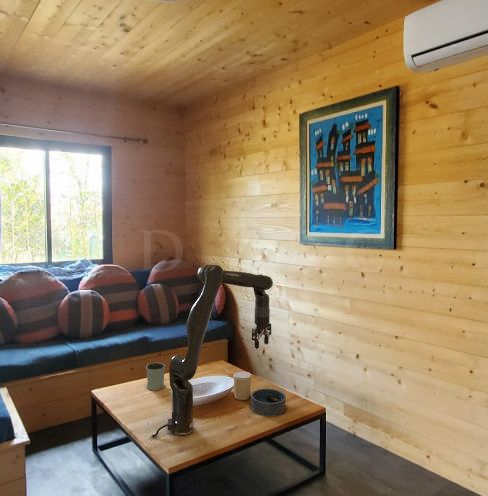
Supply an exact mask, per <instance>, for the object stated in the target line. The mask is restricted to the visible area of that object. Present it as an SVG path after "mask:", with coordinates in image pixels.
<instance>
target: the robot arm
mask: <svg viewBox="0 0 488 496" xmlns="http://www.w3.org/2000/svg"><path fill="white" fill-rule="evenodd" d="M197 278H198V280H199V281H200V282H201V284H204V285H203V289H202V292H201V294H200V295H199V297H198V299H197V300H196V301H195V302H194V304H193V305H192V307H191V309H190V311H189V314H188V317H187V320H186V324H185V328H186V334H187V335H186V336H187V350H186V354H185V355H183V354H175V355H174V356H172V358H171V359H170V362H169V366H168V374H169V375H168V376H169V377H168V378H169V386H170V390H171V418H167V423H165V424H164V425H162V426H160V427H158V429H157V430H156V432H155V433H154V434H151V437H152V438H155V437H157V436H158V435H159V432H160V431H161V430H162V429H164V428H167V431H171V435H176V436H186V435H189V434H191V433H192V432H193V431H194V424H195V421H194V386H193V384H192V383H191V382H190V381H191V380H192V379H193V378H194V377H195V375H196V373H197V370H198V365H199V362H200V361H199V360H200V356H201V350H202V346H203V343H204V339H205V336H206V332H207V329H208V326H209V322H210V319H211V316H212V315H211V314H212V311H213V308H214V304H215V302H216V299H217V295H218V293H219V290H220V288H221V285H222V284H225V285H230V286H231V285H232V286H236V287H242V288H252V289H253V293H254V298H255V299H254V303H255V304H254V325H255V326H256V327H253V328H252V329H251V341H254V349H257V350H258V349H260V339H261V338H262V336H264V337H263V343H264V345H269V342H270V341H269V338H270V336H271V335H272V323H271V322H270V321H271V319H270V317H271V316H270V315H271V314H270V313H271V311H270V310H271V309H270V294H268V293H267V292H266V291H268V290H271V288H272V287H273V286H274V282H273V279H272V277H271V276H268V275H264V274H261V273H259V274H254V273H252V272H246V271H235V270H225V269H223V268H222V266H220V265H218V264H204V265H202V266H201V267H199V269H198V271H197Z"/></svg>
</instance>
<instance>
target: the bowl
mask: <svg viewBox="0 0 488 496" xmlns="http://www.w3.org/2000/svg"><path fill="white" fill-rule="evenodd" d="M267 396H272V397H275V398H278V399H281V400H282V401H280V402H276V403H274V402H271V401H268V400H267ZM286 403H287V397H286V394H285V393H283V392H282V391H280V390H278V389H274V388H259V389H256V390H253V392H252V393H251V394H250V407H251V408H250V409H251V410H252V411H253V412H254V413H256V414H258V415H261V416H266V417H274V416H275V417H276V416H279V415H282V414H284V412H285V411H286V407H287V406H286Z"/></svg>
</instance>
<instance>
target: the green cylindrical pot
mask: <svg viewBox="0 0 488 496" xmlns="http://www.w3.org/2000/svg"><path fill="white" fill-rule="evenodd" d="M165 369H166V365H165V364H164V363H163V362H158V361H157V362H151V363H148V364H146V366H145V370H146V371H145V372H146V380H147V381H146V382H147V384H146V385H147V389H148V390H150V391H161V390H162V389H164V387H165V385H164V383H165V382H164V381H165Z"/></svg>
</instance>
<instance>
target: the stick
mask: <svg viewBox="0 0 488 496" xmlns="http://www.w3.org/2000/svg"><path fill="white" fill-rule="evenodd" d="M267 400H268V401H271V402H274V403H276V402H280V401H282V400H281V399H278V398H275V397H272V396H267Z"/></svg>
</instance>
